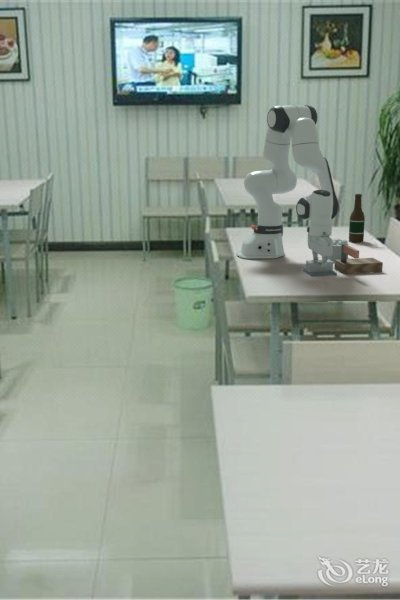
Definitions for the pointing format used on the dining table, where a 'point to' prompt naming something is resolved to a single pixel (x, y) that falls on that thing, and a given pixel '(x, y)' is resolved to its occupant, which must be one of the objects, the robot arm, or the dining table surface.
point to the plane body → (358, 265)
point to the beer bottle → (357, 222)
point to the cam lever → (348, 252)
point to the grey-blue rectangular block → (318, 266)
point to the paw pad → (337, 249)
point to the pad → (319, 273)
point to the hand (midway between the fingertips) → (319, 263)
